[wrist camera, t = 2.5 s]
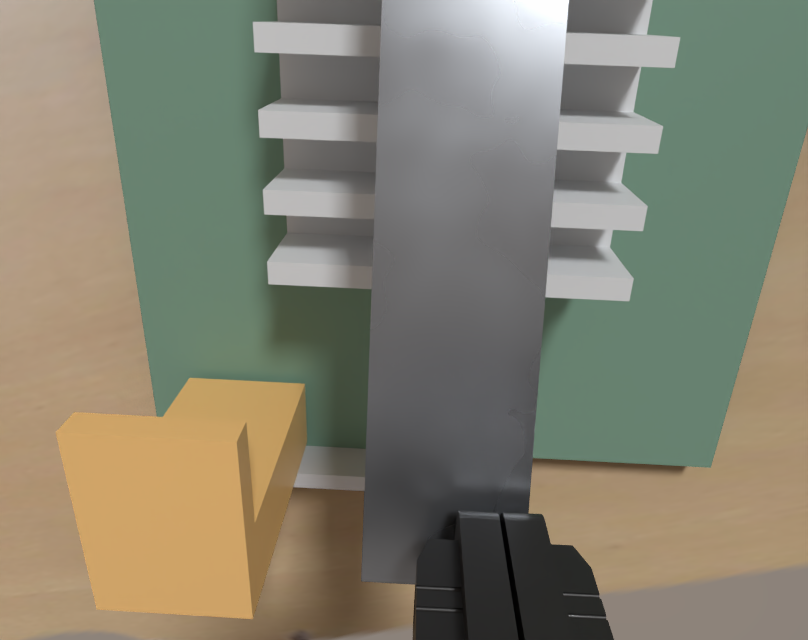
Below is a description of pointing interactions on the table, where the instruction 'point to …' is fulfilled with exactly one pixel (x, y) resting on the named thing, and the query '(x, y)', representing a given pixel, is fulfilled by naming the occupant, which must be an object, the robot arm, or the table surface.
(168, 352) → the slotted rack on board
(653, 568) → the table surface
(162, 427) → the clip
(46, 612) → the table surface
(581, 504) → the table surface
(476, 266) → the strap
